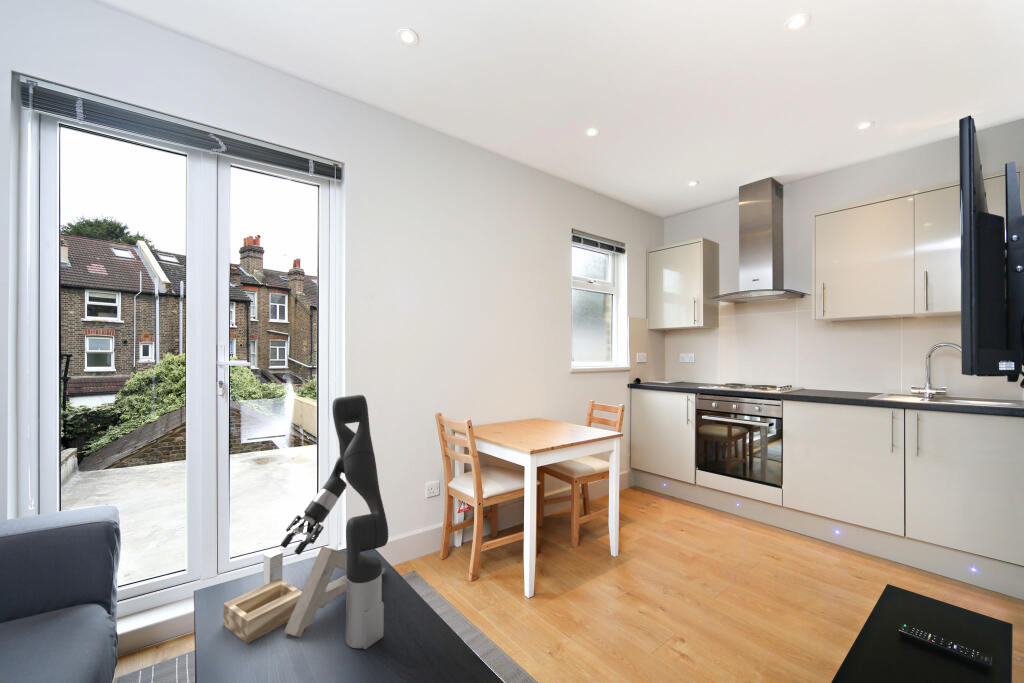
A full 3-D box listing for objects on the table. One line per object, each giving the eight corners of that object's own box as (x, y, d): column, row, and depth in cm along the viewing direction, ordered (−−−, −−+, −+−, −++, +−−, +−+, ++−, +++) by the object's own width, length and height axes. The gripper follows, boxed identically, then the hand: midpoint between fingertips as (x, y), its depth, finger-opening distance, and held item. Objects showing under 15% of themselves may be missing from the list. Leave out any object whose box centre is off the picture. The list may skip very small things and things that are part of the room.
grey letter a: (359, 642, 137) (295, 636, 115) (348, 639, 139) (283, 632, 116) (385, 568, 149) (332, 549, 127) (375, 565, 151) (321, 546, 129)
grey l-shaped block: (282, 592, 137) (282, 552, 137) (249, 608, 129) (250, 565, 129) (275, 588, 139) (276, 549, 140) (242, 603, 131) (243, 561, 131)
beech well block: (303, 612, 127) (304, 592, 127) (247, 643, 113) (247, 621, 113) (279, 597, 134) (279, 578, 135) (223, 624, 121) (223, 603, 121)
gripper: (303, 496, 153) (270, 539, 143) (326, 504, 145) (293, 551, 135) (317, 506, 157) (285, 549, 147) (340, 514, 149) (309, 560, 140)
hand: (289, 550), depth 141 cm, fingers open, 8 cm apart
